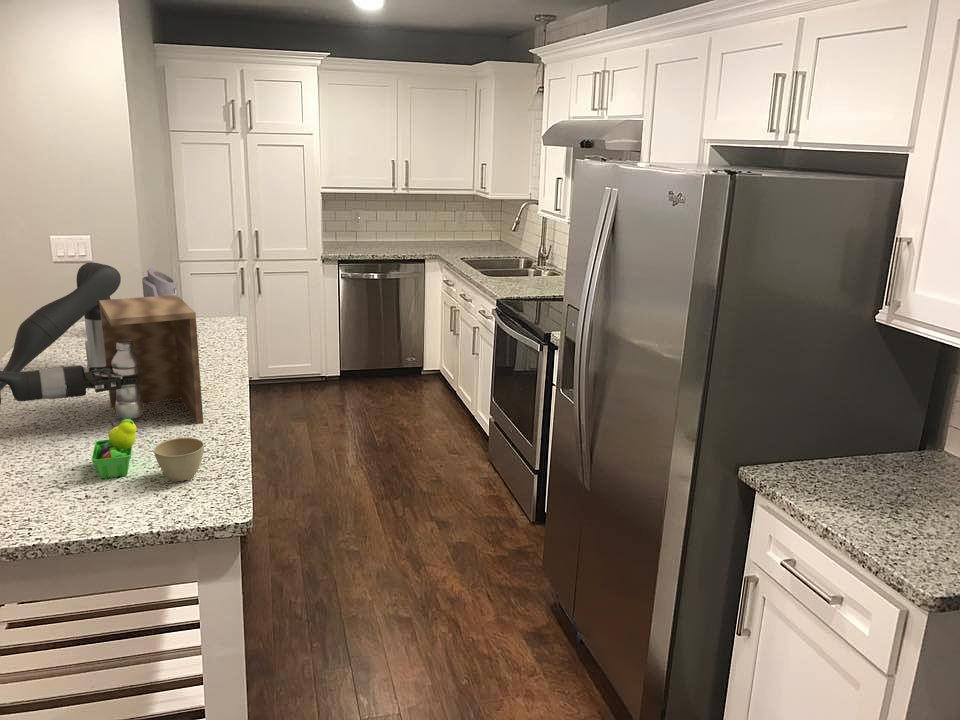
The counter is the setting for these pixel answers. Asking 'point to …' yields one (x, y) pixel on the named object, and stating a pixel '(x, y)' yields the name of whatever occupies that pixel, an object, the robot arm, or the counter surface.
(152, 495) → the counter surface
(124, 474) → the fruit basket
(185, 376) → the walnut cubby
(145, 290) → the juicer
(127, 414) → the plastic bottle
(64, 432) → the counter surface
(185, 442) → the flower pot
